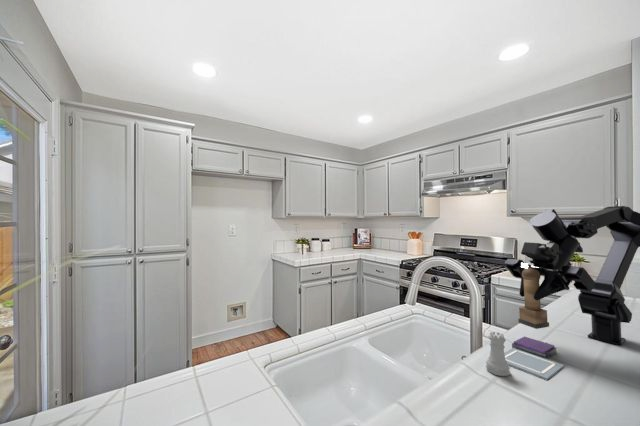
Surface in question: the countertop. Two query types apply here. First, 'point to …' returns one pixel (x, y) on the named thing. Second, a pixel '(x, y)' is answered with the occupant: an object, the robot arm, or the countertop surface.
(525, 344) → the ink pad
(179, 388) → the countertop surface
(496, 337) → the rook chess piece
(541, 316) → the wooden ball finial
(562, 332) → the countertop surface
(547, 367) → the marked card
